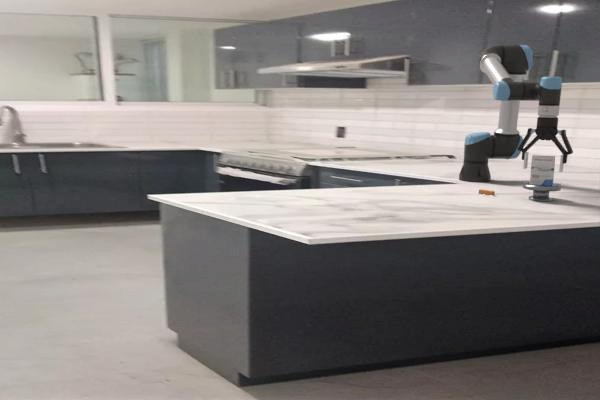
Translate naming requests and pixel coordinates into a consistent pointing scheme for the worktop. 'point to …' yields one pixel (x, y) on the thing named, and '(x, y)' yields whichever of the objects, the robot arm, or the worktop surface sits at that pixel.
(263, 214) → the worktop surface
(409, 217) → the worktop surface
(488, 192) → the wedge pin
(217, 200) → the worktop surface
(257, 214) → the worktop surface
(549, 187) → the rosette stub
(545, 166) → the ink box
